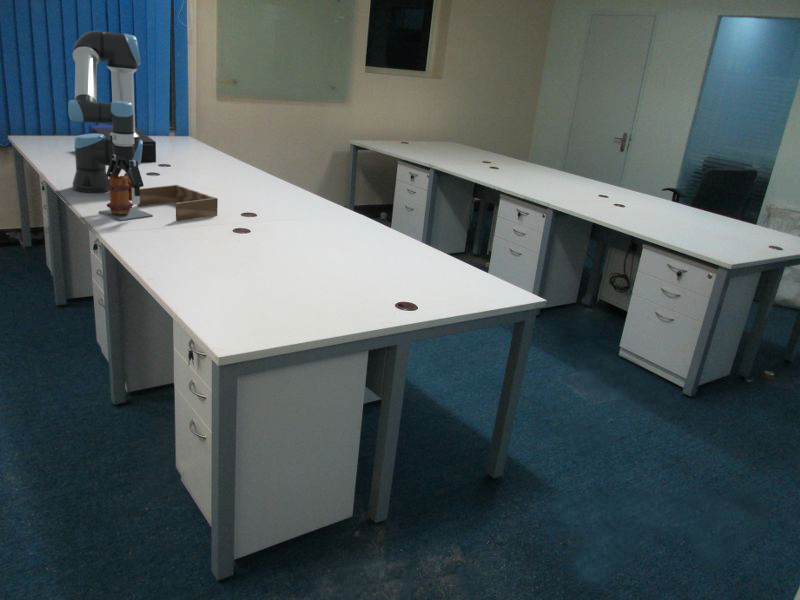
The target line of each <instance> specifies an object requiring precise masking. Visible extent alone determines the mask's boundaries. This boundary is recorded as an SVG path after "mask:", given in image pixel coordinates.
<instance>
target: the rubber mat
mask: <svg viewBox="0 0 800 600" xmlns="http://www.w3.org/2000/svg"><path fill="white" fill-rule="evenodd" d="M98 214H102V215H104V216H106V217H109V218H111V219H113V220H116V221H119V222H124V221H130V220H137V219H144V218H152V217H153V214H151V213H149V212H146V211H143V210H141V209H138V208H135V207H133V206H132V207H131V208H130V212H129V213H128V214H125V215H116V214H113V213H111V209H106V210H99V211H98Z"/></svg>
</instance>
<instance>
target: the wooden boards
mask: <svg viewBox="0 0 800 600" xmlns="http://www.w3.org/2000/svg"><path fill="white" fill-rule="evenodd" d="M218 200H219V199H218V197H215V196H212V195H208V194H205V193H202V192H200V191H196V190H193V189H190V188H187V187H185V186H181V185H178V184H173V185H172V184H171V185H165V186H163V185H162V186H154V187H144V188H140V204H136V206H137V207H147V206H154V205H163V204H169V203H170V204H171V203H175V221H176V222H181V221H188V220H195V218H196V219H201V217H202V218H208V217H213V216H218V205H219V204H218V202H219V201H218ZM207 216H208V217H207Z"/></svg>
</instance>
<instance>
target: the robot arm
mask: <svg viewBox="0 0 800 600" xmlns="http://www.w3.org/2000/svg"><path fill="white" fill-rule="evenodd" d="M72 58H73V60H74V61H73V62H75V64H74V65H75V66H74V67H75V68H74V71H75V73H74V99H73V100H72V99H70V100H69V101H68V103H67V105H68V106H67V107H68V109H67V110H68V118H69V119H70V120H71V121H72V122H80V123H93V124H94V123H97V124H110V125H111V126H112V132H111V133H110V138H105V136H104V135H103V134H89V133H84V134H80V135H77V136H76V137H75V138H74V147H73V149H74V154H75V155H74V157H75V173H74V178H73V181H72V189H73V190H74V191H76V192H81V193H97V194H98V193H99V194H100V193H105V192H106V193H107V192H110V190H109V189H108V188H107V187H106V185H108V184H109V178H110V177H111V176H113V177H114V176H120V173H121V172H122V170H123V171H124V172H125V173H126V172H127V174H128V176H129V179H130V181H131V183H132V185H133V186H132V201H131V203H132V204H133V205H135V206H136V205H137V204H140V189H141V188H142V187H144V182H143V179H142V175H141V172H140V167H139V166H141V163H142V162H141V156H142V145H143V141H142V140H139V135H138V134H137V133H136V132H135V127H136V120H135V119H136V118H135V117H136V113H135V82H134V81H135V79H134V74H135V73H136V72H137V70H138V67H139V66H141V64H142V63H141V56H140V51H139V44H138V39H137V37H136V36H135V35H132V34H128V33H120V32H110V31H101V30H91V31H88V32H85V33H84V34H82V35H81V36H80V37H79V38H77V40H76V42H75V43H74V44H73V49H72ZM99 62H103V63H106V68H108V70H110V78H111V100H112V101H111V102H110V103H109V102H98V101H97V100H98V98H97V97H98V95H97V94H98V93H97V91H98V90H97V89H98V87H97V85H98V84H97V83H98V82H97V80H98V77H97V75H98V73H97V70H98V69H97V65H98V64H99ZM107 166H108V168H107Z"/></svg>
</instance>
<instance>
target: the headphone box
mask: <svg viewBox="0 0 800 600" xmlns="http://www.w3.org/2000/svg"><path fill="white" fill-rule="evenodd" d="M111 132H112V125H102V124H101V125H96V124H95V125H93V124H90V125H89V127H88V134H103V135H104V136H105V138H110V133H111ZM135 132H136V133H137V134H138V135H139V140H142V141H143V145H142V156H141V163H157V144H156V143H157V142H156V141H155V140H154V139H152V138H151V137H150V136H148V135H147V134H145V133H144V132H143V131H142V130H140V129H138V128H137V127H136V126H135Z"/></svg>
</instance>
